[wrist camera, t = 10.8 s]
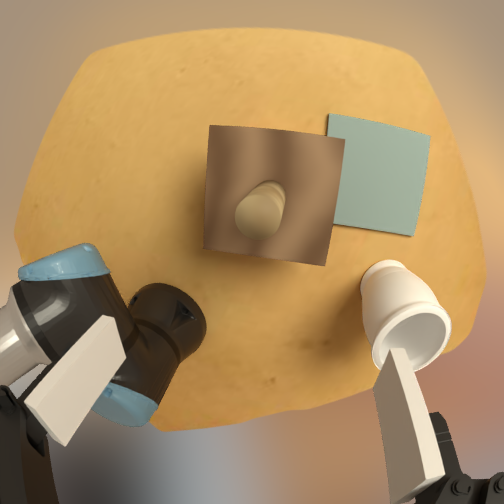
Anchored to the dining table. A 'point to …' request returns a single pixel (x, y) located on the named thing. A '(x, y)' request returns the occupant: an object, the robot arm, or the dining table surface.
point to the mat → (379, 174)
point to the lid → (271, 193)
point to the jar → (402, 315)
